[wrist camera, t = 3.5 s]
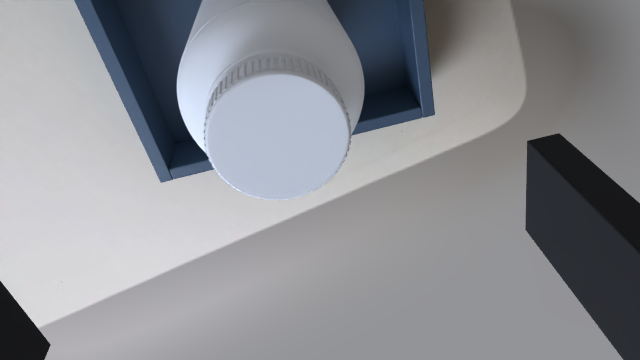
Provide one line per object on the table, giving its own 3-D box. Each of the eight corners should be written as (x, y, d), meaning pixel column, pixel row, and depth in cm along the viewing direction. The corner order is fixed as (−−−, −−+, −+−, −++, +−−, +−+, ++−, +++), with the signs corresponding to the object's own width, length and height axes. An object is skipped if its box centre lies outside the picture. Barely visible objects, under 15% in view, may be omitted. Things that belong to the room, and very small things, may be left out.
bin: (390, -140, 27) (409, -141, 24) (417, 90, 34) (435, 115, 31) (77, -59, 27) (51, -48, 24) (170, 151, 35) (160, 183, 31)
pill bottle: (353, 50, 32) (418, 172, 19) (245, 109, 33) (239, 260, 20) (291, -73, 28) (323, -21, 15) (171, 1, 29) (107, 106, 16)
